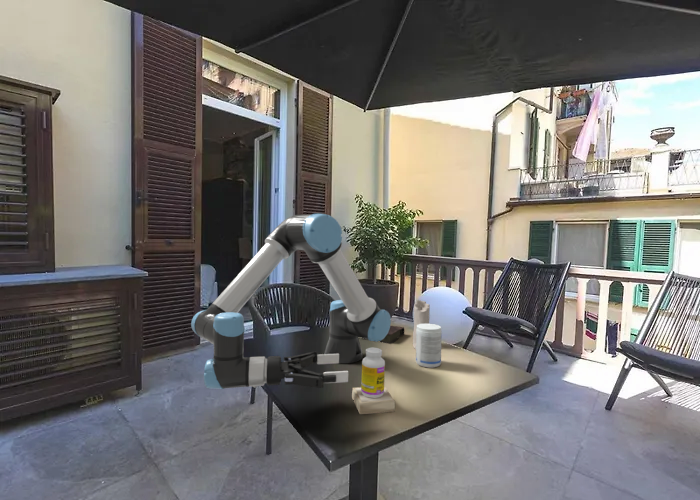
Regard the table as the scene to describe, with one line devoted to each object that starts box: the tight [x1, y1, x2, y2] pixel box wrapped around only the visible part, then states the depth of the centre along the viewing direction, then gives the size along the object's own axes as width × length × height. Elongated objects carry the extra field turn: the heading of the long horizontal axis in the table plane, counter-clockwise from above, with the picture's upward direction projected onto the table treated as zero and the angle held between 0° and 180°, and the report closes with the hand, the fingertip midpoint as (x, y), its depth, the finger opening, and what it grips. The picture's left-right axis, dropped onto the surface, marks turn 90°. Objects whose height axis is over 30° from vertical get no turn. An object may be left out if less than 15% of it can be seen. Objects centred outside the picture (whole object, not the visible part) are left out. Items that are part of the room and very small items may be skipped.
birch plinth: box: [351, 385, 396, 415], centre depth 101 cm, size 10×10×3 cm
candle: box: [412, 299, 430, 350], centre depth 155 cm, size 7×14×20 cm, turn 173°
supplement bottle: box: [360, 347, 386, 398], centre depth 101 cm, size 7×7×13 cm
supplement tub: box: [415, 323, 443, 369], centre depth 135 cm, size 10×10×15 cm
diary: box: [358, 325, 405, 345], centre depth 172 cm, size 19×25×5 cm
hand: (343, 366), depth 99 cm, fingers open, 13 cm apart
